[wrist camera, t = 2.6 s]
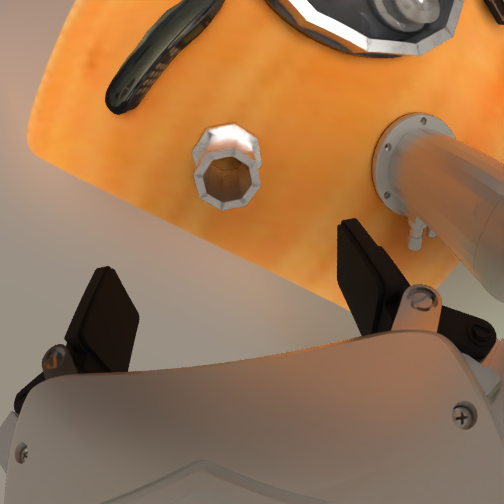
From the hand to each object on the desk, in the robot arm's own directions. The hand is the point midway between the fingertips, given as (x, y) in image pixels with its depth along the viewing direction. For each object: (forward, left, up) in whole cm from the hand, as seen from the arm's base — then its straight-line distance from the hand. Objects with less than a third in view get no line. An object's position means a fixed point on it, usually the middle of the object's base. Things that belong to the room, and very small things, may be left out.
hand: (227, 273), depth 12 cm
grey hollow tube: (0, 0, -18) cm, 18 cm away
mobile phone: (+12, +2, -19) cm, 22 cm away
